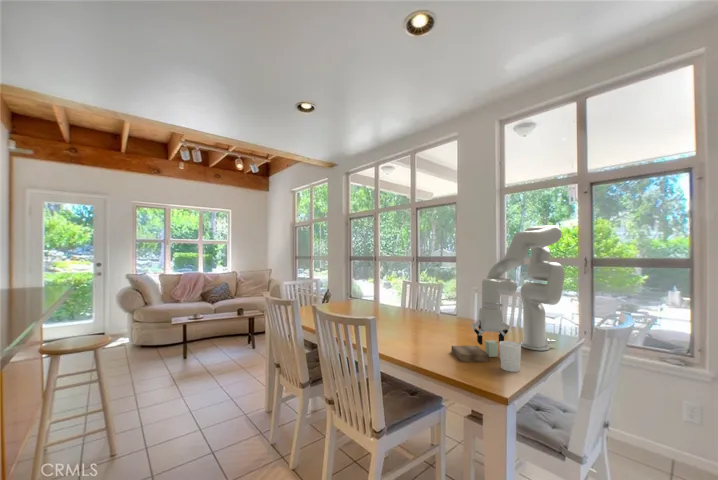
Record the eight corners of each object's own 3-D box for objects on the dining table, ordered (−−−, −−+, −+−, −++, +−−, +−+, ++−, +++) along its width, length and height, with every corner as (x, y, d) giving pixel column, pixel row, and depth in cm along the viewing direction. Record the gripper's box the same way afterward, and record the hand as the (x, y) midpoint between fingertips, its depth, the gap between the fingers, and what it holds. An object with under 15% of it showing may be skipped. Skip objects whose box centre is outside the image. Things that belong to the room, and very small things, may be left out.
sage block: (493, 353, 140) (493, 340, 140) (497, 356, 136) (497, 343, 136) (485, 353, 140) (485, 340, 140) (489, 356, 136) (489, 343, 136)
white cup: (495, 365, 126) (495, 341, 126) (513, 364, 126) (513, 340, 127) (506, 373, 118) (506, 347, 118) (525, 372, 118) (525, 346, 119)
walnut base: (476, 352, 142) (476, 345, 142) (488, 361, 130) (488, 354, 130) (451, 352, 141) (451, 345, 141) (461, 361, 129) (461, 354, 129)
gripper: (505, 304, 143) (504, 341, 142) (468, 304, 142) (468, 341, 141) (513, 307, 135) (513, 346, 135) (475, 307, 135) (475, 346, 134)
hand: (490, 343), depth 138 cm, fingers open, 9 cm apart
